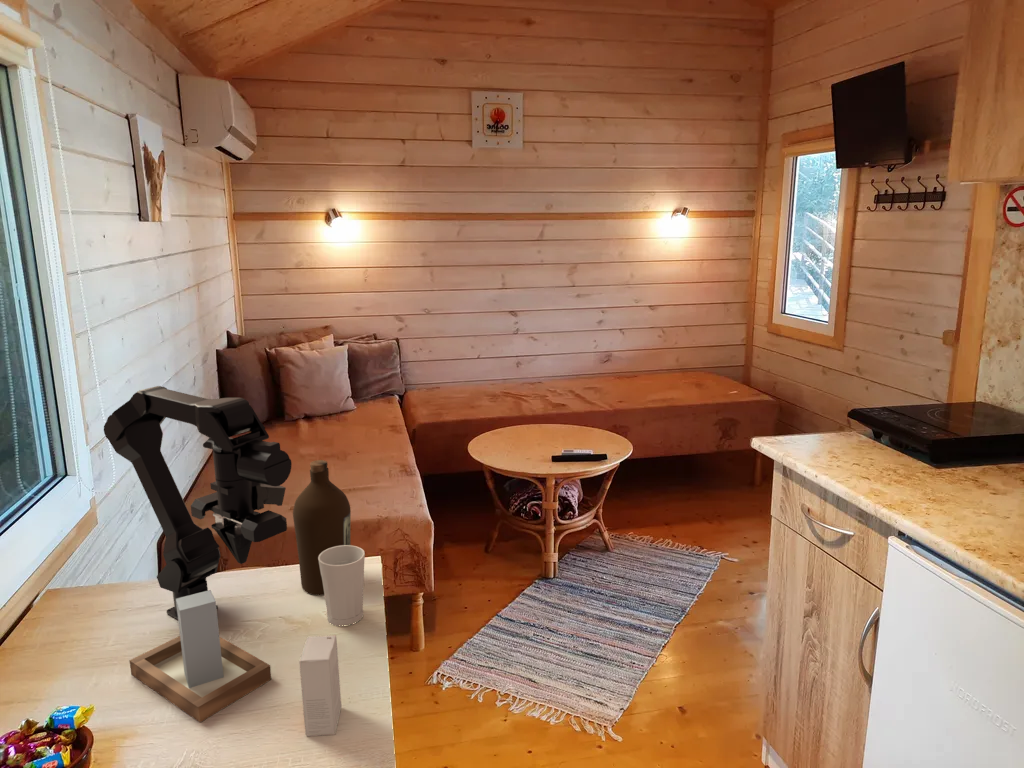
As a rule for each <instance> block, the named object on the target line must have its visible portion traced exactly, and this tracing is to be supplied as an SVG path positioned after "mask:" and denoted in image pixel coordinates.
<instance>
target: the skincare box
mask: <svg viewBox="0 0 1024 768" xmlns="http://www.w3.org/2000/svg"><path fill="white" fill-rule="evenodd" d="M338 653H339V652H338V640H337V635H336V634H334V635H333V634H332V635H331V634H330V635H311V636H310V635H309V636H307V637H306V639H305V643H304V646H303V649H302V652H301V654H300V658H299V660H298V661H299V675H300V685H301V686H300V687H301V688H300V689H301V697H302V698H301V699H302V711H303V719H304V722H303V723H304V730H305V731H304V733H305V734H304V735H305V736H306V737H316V736H317V737H320V736H331V735H332V736H333V735H336V732H337V728H338V723H339V719H340V714H341V710H342V696H341V684H340V683H341V682H340V681H341V680H340V670H339V669H340V668H339V656H338V655H339V654H338Z"/></svg>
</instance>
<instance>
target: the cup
mask: <svg viewBox="0 0 1024 768" xmlns="http://www.w3.org/2000/svg"><path fill="white" fill-rule="evenodd" d="M365 553H366V552H365V550H364V549H363V548H361V547H360V546H356V545H352V544H351V545H341V546H335V547H332V548H329V549H326V550H324V551H323V552H322V553H321V554H320V555H319V557H318V560H319V566H320V572H321V576H322V582H323V588H324V595H323V596H324V601H325V606H326V618H327V619H326V621H327V622H328V624H330V623H331V624H330V625H332V624H333V625H332V626H334V625H336V626H335V627H345V626H344V625H349V624H352V625H354V624H353V623H355V622H357V621H359V620H360V619H361V618H362V617H364V589H365V588H364V586H365V585H364V582H365V559H366V558H365V556H366V554H365ZM362 619H363V618H362ZM362 619H361V620H362ZM361 620H360V621H361ZM360 621H359V622H360ZM357 623H358V622H357ZM355 624H356V623H355ZM339 625H340V626H339ZM342 625H343V626H342ZM349 626H350V625H349Z"/></svg>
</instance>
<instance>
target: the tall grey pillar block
mask: <svg viewBox="0 0 1024 768" xmlns="http://www.w3.org/2000/svg"><path fill="white" fill-rule="evenodd" d="M216 605H217V601H216V598H215V596H214V594H213V592H212V590H211V589H208V591H204V592H200V593H196V594H193V595H189V596H185V597H181V598H177V599H176V606H177V614H178V619H177V620H178V621H177V623H178V631H179V636H180V640H181V648H182V656H183V665H184V673H185V677H186V681H187V684H188V687H189V688H191V687H195V686H198V685H201V684H204V683H207V682H210V681H214V680H217V679H220V678H223V677H224V675H223V666H222V656H221V647H220V637H221V636H220V629H219V619H218V618H219V617H218V609H216Z"/></svg>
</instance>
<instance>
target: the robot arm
mask: <svg viewBox="0 0 1024 768" xmlns="http://www.w3.org/2000/svg"><path fill="white" fill-rule="evenodd" d="M166 418H167V419H171V420H175V421H178V422H182V423H186V424H188V425H189V424H190V425H192V426H195V427H196V428H197V430H198V432H199V434H201V435H203V436H205V437H207V438H208V439H207V440H205V442H204V443H203V444H202V446H203V448H204V449H210V450H212V458H213V468H214V478H215V480H214V482H211V483H210V489H211V490H213V491H216V492H214V493H212V492H211V493H210V494H207V495H204V496H200V497H198V498H197V497H196V498H195V499H194V500H193V502H192V503H191V505H190V510H191V514H190V512H189V509H188V507H187V506H186V503H185V500H184V499H183V496H182V494H181V493H180V490H179V488H178V486H177V483H176V481H175V480H174V477H173V475H172V473H171V471H170V468H169V466H168V464H167V461H166V459H165V457H164V455H163V454H162V450H161V448H162V442H163V438H164V437H163V436H164V432H163V429H162V427H161V425H162V423H163V422H164V421H165V419H166ZM103 432H104V436H105V437H106V439H107V440H108V441H109V443H110V445H111V446H112V448H113V450H114V451H115V453H116V454H118V455H119V456H121V457H123V458H124V459H126V460H127V461H128V462H129V463H131V464H132V466H133V468H134V471H135V473H136V475H137V477H138V479H139V481H140V484H141V486H142V488H143V490H144V493H145V494H146V497H147V499H148V500H149V503H150V505H151V507H152V509H153V512H154V514H155V516H156V519H157V520H158V523H159V525H160V527H161V529H162V531H163V533H164V536H165V539H164V547H163V552H162V555H163V558H164V561H165V564H166V565H164V567H163V568H162V569H161V571H160V572H159V573H158V574H157V575H156V579H157V583H158V585H159V587H160V588H161V589H164V590H166V591H169V592H172V597H173V598H172V599H173V607H171V608H169V609H166V614H168V615H169V616H171V617H172V618H174V619H176V620H178V614H177V606H176V599H177V598H181V597H185V596H189V595H193V594H196V593H200V592H204V591H208V590H209V588H208V581H207V578H208V577H210V576H212V575H215V574H217V572H218V567H219V563H220V558H221V552H220V545H219V544H218V542H217V540H216V539H215V537H214V534H213V531H212V530H211V529H210V528H209V527H205V528H202V527H200V526H199V525H197V524H196V523H195V521H194V520H193V518H196V519H198V520H203V519H204V518H205V517H206V512H209V511H211V512H212V517H214V521H215V523H212V524H211V528H212V529H213V530H214V531H215V532H216V534H217V535H218V537H219V538H220V539H221V540H222V541H223V543H224V544H225V546H226V547H227V549H228V550H229V551H230V553H231V555H232V556H233V558H234V560H236V562H237V563H238V564H240V565H243V564H245V563H246V562H247V561H248V557H249V552H250V549H251V547H252V542H253V543H260V542H263V541H265V540H268V539H269V538H273V537H275V536H278V535H280V534H282V533H284V532H286V531H287V530H288V524H287V518H286V517H285V516H283V515H282V514H280V513H277V512H275V511H272V510H269V509H267V510H266V511H263V512H259V511H260V510H263V509H264V508H265V505H276V506H278V507H280V506H281V507H282V506H283V501H284V498H285V493H286V486H282V485H283V484H284V483H285V482H286V481H287V480H288V478H289V477H290V474H291V471H292V463H293V462H292V459H291V458H290V456H289V454H288V452H286V451H284V450H281V443H280V442H275V441H265V440H268V439H269V438H270V435H269V433H268V432H267V430H266V427H265V425H264V423H262V421H260V419H259V416H258V415H257V414H256V412H255V410H254V408H253V407H252V406H251V404H250V402H249V401H248V400H247V399H245V398H243V397H222V398H221V397H220V398H212V399H211V398H205V397H201V396H197V395H194V394H189V393H186V392H185V393H184V392H181V391H177V390H172V389H168V388H167V387H165V386H161V385H156V386H152V387H148V388H143V389H139V390H138V391H136V392H135V393H134V394H132V396H131V398H130V399H129V400H128V401H126V402H125V403H123V404H122V405H121V406H119V407H118V408H117V409H115V410H114V411H113V412H112V413H111V414H110V415H109V416H108V417H107V418H106V422H105V423H104V426H103ZM246 432H248V433H246ZM242 433H245V434H242ZM239 434H241V435H239ZM236 435H237V436H236ZM238 435H239V436H238ZM234 436H236V437H234ZM192 517H193V518H192ZM218 606H219V605H217V604H216V609H217V610H218V608H219V607H218Z"/></svg>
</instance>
